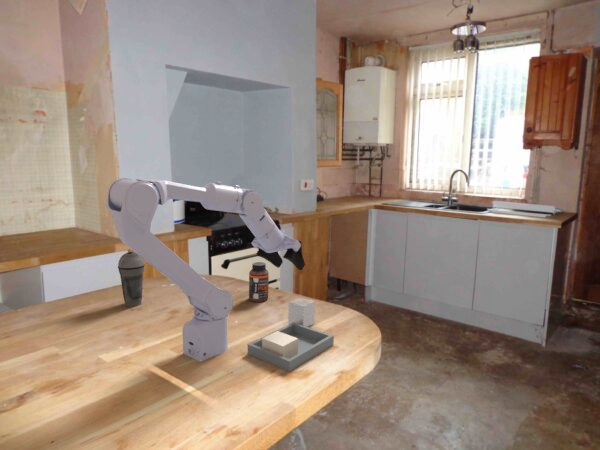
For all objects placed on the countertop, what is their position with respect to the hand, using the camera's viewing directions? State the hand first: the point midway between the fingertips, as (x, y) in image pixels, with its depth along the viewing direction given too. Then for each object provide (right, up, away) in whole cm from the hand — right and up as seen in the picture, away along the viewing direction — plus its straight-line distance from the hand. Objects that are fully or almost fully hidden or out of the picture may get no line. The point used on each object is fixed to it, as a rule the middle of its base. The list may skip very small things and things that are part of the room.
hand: (291, 265), depth 109 cm
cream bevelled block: (-2, -18, -16) cm, 24 cm away
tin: (+3, -16, +1) cm, 16 cm away
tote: (0, -18, -12) cm, 22 cm away
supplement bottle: (-10, -13, +22) cm, 27 cm away
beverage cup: (-47, -13, +16) cm, 51 cm away
